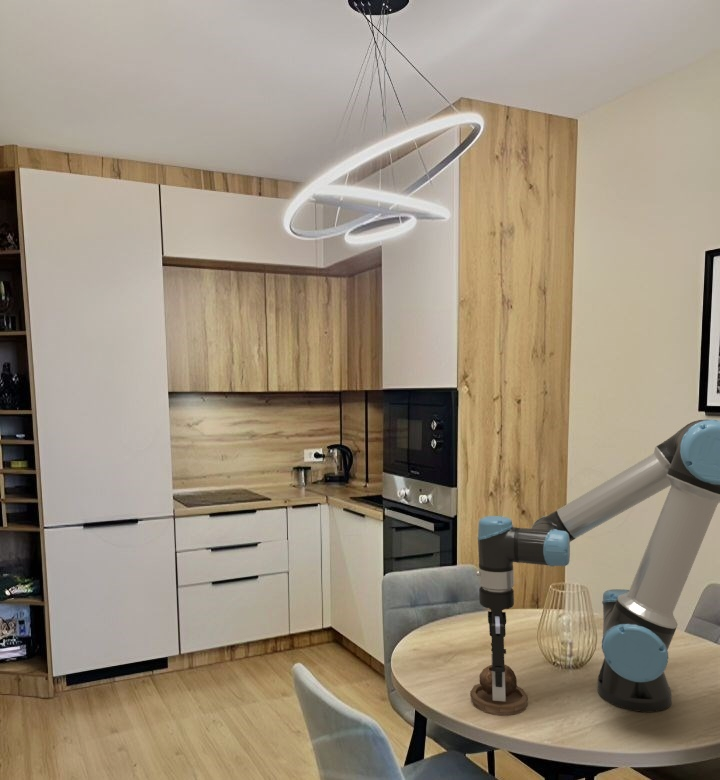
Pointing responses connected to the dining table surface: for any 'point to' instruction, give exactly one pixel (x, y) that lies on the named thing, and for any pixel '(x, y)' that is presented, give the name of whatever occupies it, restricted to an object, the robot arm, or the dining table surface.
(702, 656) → the dining table surface
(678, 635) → the dining table surface
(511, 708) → the tray
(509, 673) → the brown ball
